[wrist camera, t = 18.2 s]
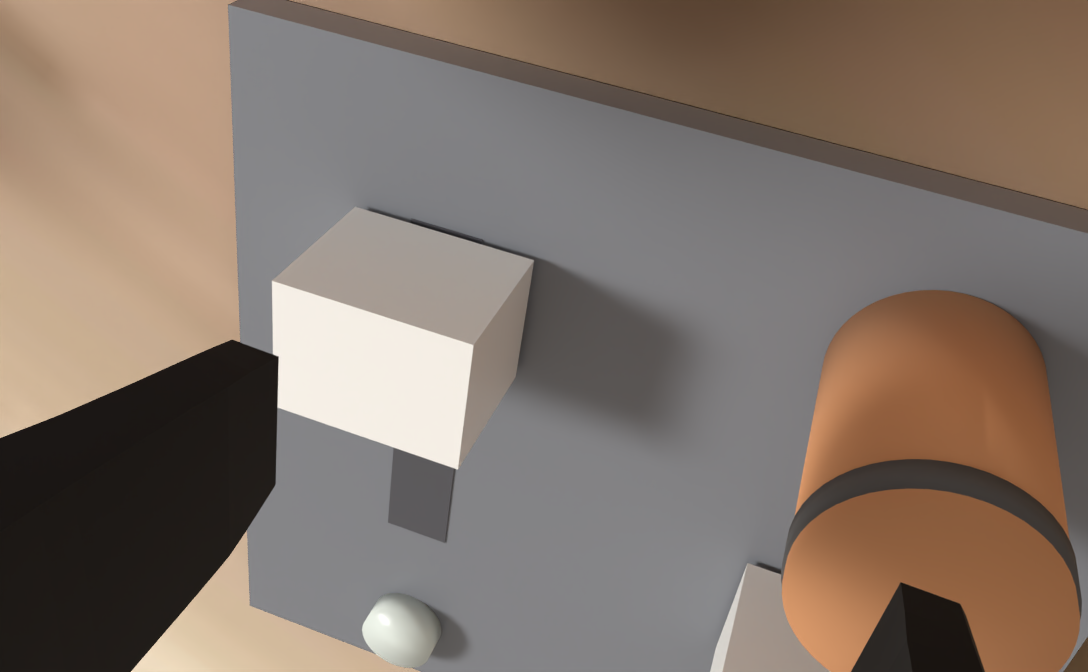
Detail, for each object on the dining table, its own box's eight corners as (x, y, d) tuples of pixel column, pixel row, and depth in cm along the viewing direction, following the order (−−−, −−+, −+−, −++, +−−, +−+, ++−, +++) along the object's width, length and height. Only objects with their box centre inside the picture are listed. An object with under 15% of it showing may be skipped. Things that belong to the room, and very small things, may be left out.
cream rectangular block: (355, 206, 22) (272, 280, 19) (534, 260, 21) (473, 345, 18) (350, 323, 23) (273, 405, 21) (515, 376, 23) (457, 469, 20)
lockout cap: (777, 390, 21) (725, 605, 16) (913, 246, 18) (899, 448, 13) (944, 502, 21) (943, 748, 16) (1102, 373, 18) (1156, 619, 14)
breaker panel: (255, -9, 21) (204, 15, 20) (1307, 267, 17) (1338, 321, 16) (268, 581, 31) (234, 625, 30) (928, 832, 28) (926, 896, 26)
